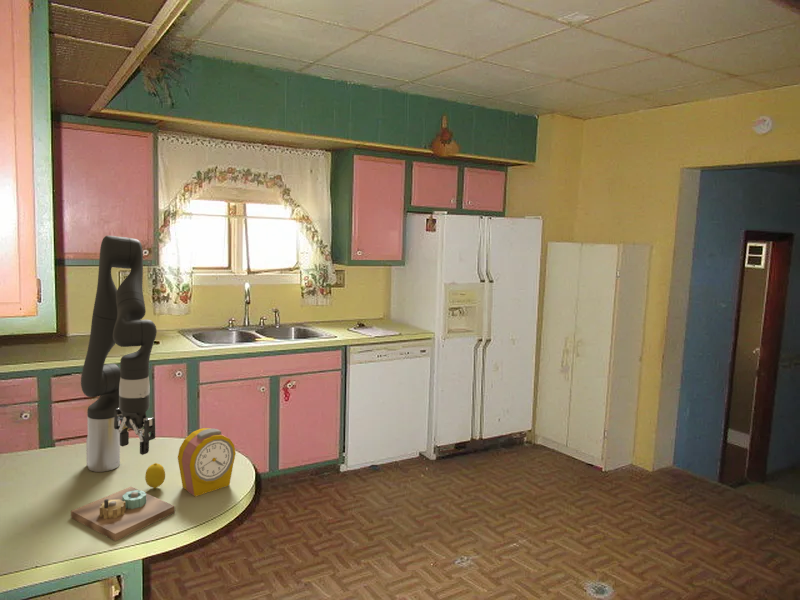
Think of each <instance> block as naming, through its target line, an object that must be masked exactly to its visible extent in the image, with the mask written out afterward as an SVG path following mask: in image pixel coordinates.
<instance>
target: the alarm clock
mask: <svg viewBox="0 0 800 600" xmlns="http://www.w3.org/2000/svg"><path fill="white" fill-rule="evenodd" d="M235 457H236V448H235V444H234V442H233V441H232V440H231V438H229V437H227V436H225V435H224V434H223V433H222V430H220V429H218V428H210V427H208V428H207V427H202V428H199V429H196V430H194V431H192V432H191V433H190V434H189V435H187V436H186V438H185V437H184V440H183V441H182V443H181V445H180V447H179V449H178V454H177V462H178V467H179V474H180V480H181V485H182V488H183V489H184V490H186V491H187V492H188V493H190V495H192V496H193V497H198V496H200V495H203V494H204V495H205V494H207V492H208V493H210V492H213V490H214V491H216V489H217V490H220V489H223V488H226V487H229V486H230V483H231V478H232V473H233V468H234V467H233V466H234V463H235V459H236V458H235ZM228 485H229V486H228ZM225 486H226V487H225ZM222 487H223V488H222ZM219 488H220V489H219Z"/></svg>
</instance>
